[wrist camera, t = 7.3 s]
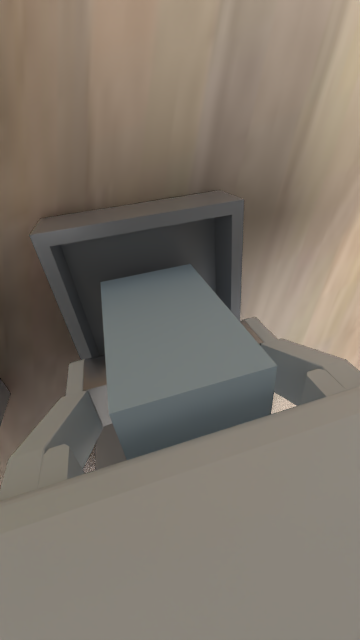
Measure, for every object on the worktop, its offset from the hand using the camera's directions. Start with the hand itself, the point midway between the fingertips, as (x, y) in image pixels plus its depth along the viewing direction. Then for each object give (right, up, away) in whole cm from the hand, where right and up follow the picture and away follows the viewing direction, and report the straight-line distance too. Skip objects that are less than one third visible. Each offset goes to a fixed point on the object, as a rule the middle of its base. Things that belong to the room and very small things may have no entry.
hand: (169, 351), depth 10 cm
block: (-1, +2, +3) cm, 3 cm away
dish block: (-1, +3, +4) cm, 5 cm away
